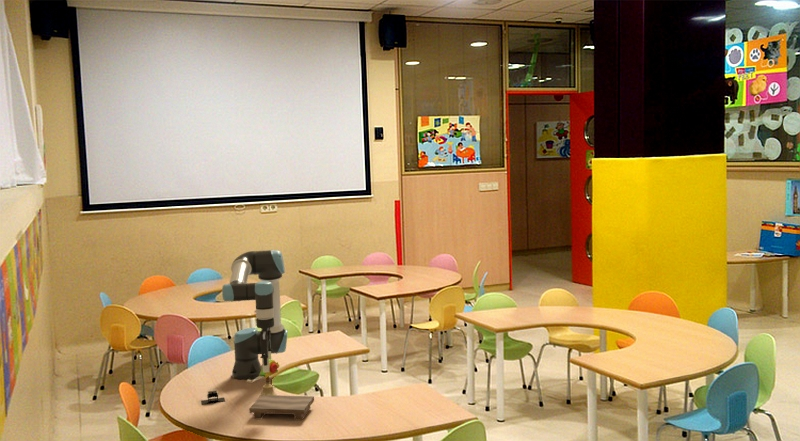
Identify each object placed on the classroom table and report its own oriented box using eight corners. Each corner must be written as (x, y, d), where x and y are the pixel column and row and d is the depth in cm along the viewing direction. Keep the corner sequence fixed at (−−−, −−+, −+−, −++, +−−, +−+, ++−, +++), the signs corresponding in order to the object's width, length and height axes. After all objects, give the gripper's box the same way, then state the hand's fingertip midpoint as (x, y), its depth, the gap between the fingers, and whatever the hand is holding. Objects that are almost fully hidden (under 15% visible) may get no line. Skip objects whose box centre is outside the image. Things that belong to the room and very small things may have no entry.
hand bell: (280, 394, 334) (279, 361, 332) (271, 401, 326) (270, 367, 324) (264, 393, 336) (263, 360, 334) (255, 399, 328) (254, 365, 327)
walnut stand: (262, 405, 320) (261, 394, 319) (314, 407, 317) (313, 396, 316) (249, 419, 304) (249, 408, 304) (304, 421, 301) (304, 409, 300)
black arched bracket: (198, 407, 322) (198, 396, 321) (197, 401, 329) (196, 391, 328) (228, 402, 326) (228, 392, 325) (226, 397, 333) (226, 387, 333)
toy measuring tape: (284, 371, 313) (283, 356, 312) (254, 384, 296) (253, 369, 295) (273, 369, 316) (272, 355, 315) (242, 382, 299) (241, 367, 299)
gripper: (259, 312, 317) (261, 362, 319) (253, 324, 296) (255, 377, 298) (276, 311, 317) (278, 361, 320) (271, 323, 297) (273, 376, 299)
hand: (267, 369), depth 309 cm, fingers closed on toy measuring tape, 8 cm apart
